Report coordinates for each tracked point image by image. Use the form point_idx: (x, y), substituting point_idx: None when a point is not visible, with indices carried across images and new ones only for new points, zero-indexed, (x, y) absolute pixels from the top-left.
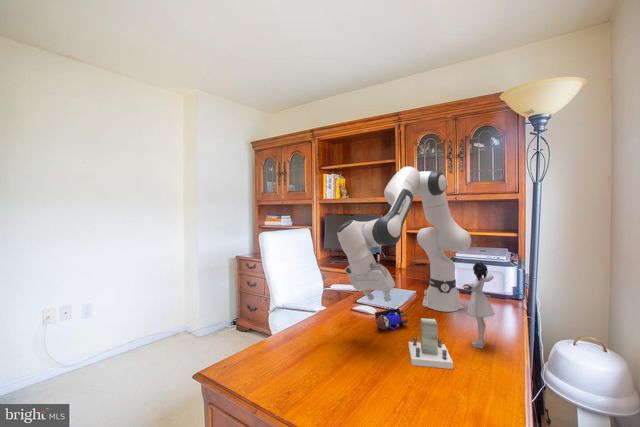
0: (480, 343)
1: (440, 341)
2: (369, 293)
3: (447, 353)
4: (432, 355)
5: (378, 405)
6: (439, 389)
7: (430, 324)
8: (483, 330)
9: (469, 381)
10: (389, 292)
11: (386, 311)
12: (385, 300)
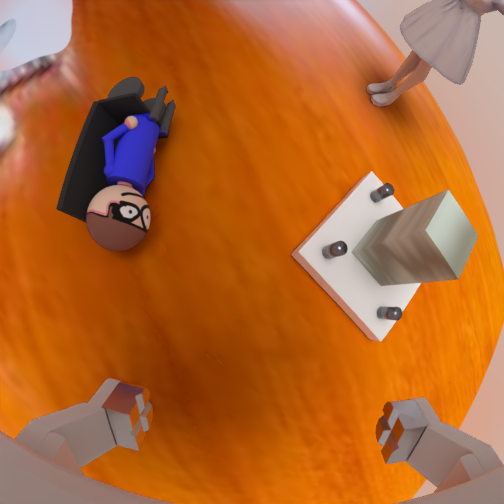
0: (394, 99)
1: (391, 194)
2: (96, 425)
3: None
4: None
5: (400, 484)
6: (445, 354)
7: (467, 255)
8: (410, 72)
9: None
10: (468, 441)
11: (84, 143)
12: (385, 440)
